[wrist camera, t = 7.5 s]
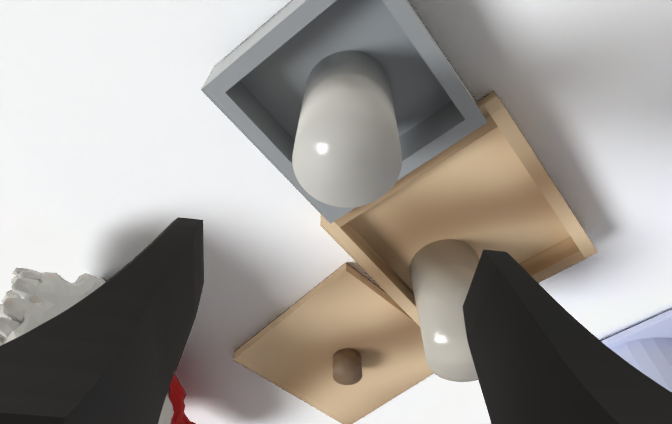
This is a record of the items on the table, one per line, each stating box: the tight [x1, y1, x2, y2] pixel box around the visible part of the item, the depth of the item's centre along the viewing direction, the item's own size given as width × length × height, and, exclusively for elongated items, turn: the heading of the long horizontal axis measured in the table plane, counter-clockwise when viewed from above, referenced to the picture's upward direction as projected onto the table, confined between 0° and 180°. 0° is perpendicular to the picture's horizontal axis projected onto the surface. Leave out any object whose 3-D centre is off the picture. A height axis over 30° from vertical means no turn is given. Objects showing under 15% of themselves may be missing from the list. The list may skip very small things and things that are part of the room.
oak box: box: [320, 91, 598, 326], centre depth 24 cm, size 9×9×2 cm
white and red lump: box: [0, 268, 195, 424], centre depth 26 cm, size 9×11×15 cm
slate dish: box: [201, 0, 487, 224], centre depth 20 cm, size 7×7×2 cm
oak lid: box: [233, 263, 433, 424], centre depth 29 cm, size 9×9×2 cm
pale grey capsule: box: [292, 51, 402, 208], centre depth 19 cm, size 3×3×6 cm
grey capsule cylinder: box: [410, 239, 479, 382], centre depth 24 cm, size 3×3×6 cm
